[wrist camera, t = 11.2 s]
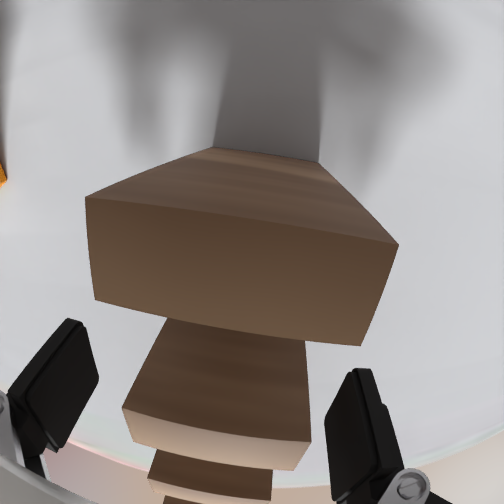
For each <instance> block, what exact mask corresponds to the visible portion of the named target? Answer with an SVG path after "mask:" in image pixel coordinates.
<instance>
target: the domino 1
mask: <svg viewBox="0 0 504 504" xmlns="http://www.w3.org/2000/svg"><path fill="white" fill-rule="evenodd" d="M85 208H86V226H87V239H88V250H89V259H90V268H91V276H92V283H93V290H94V297H95V300H97V301H101V302H105V303H108V304H112V305H116V306H120V307H124V308H128V309H132V310H137V311H141V312H145V313H149V314H154V315H158V316H163V317H168V318H172V319H177V320H182V321H187V322H192V323H197V324H202V325H207V326H213V327H218V328H224V329H230V330H236V331H242V332H248V333H254V334H261V335H267V336H274V337H281V338H289V339H297V340H305V341H313V342H322V343H332V344H342V345H353V346H361V344H362V342H363V340H364V337H365V335H366V333H367V330H368V328H369V326H370V323H371V321H372V318H373V316H374V313H375V311H376V308H377V306H378V303H379V301H380V298H381V296H382V293H383V290H384V287H385V285H386V282H387V279H388V276H389V274H390V271H391V268H392V265H393V262H394V259H395V256H396V253H397V250H398V247H399V244H398V243H397V242H396V241H395V240H394V239H393V237H392V236H391V235H390V234H389V233H388V232H387V231H386V230H385V229H384V228H383V227H382V225H381V224H380V223H379V222H378V221H377V220H376V219H375V218H374V217H373V216H372V215H371V214H370V213H369V212H368V211H367V210H366V209H365V208H364V207H363V206H362V205H361V204H360V203H359V202H358V201H357V200H356V199H355V198H354V197H353V196H352V195H351V194H350V193H349V192H348V191H347V190H346V189H345V188H344V187H343V186H342V185H341V184H340V183H339V182H338V181H337V180H336V179H335V178H334V177H333V176H332V175H331V174H330V173H329V172H328V171H327V170H325V169H324V168H323V167H322V166H321V165H320V164H319V163H316V162H310V161H305V160H299V159H294V158H288V157H282V156H276V155H269V154H263V153H256V152H248V151H241V150H233V149H225V148H216V147H211V148H208V149H205V150H202V151H199V152H196V153H193V154H190V155H187V156H184V157H181V158H179V159H176V160H173V161H170V162H168V163H165V164H162V165H160V166H157V167H154V168H152V169H149V170H147V171H144V172H142V173H139V174H137V175H134V176H132V177H129V178H127V179H124V180H122V181H120V182H117V183H115V184H113V185H110V186H108V187H106V188H104V189H101V190H99V191H97V192H95V193H93V194H90V195H88V196H86V197H85Z"/></svg>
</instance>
